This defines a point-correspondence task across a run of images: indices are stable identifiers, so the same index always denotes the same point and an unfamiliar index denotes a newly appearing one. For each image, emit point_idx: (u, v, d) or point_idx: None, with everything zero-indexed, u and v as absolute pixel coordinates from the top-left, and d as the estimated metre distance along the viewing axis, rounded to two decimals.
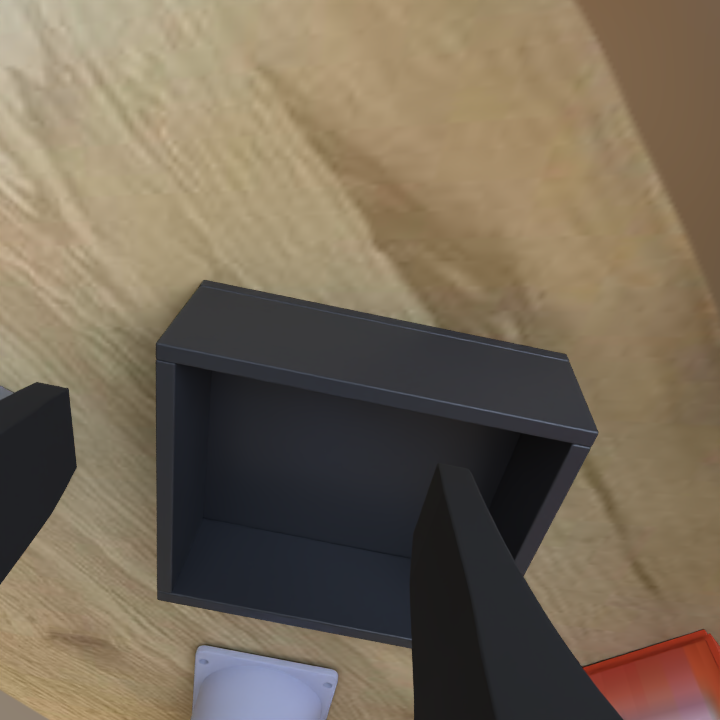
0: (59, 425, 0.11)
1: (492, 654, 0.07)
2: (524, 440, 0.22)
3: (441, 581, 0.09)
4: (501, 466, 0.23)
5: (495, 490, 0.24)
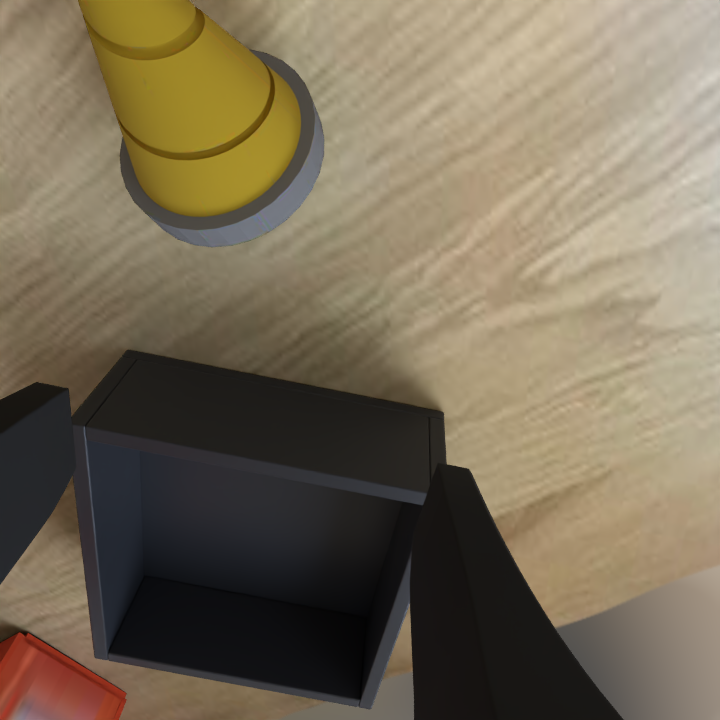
0: (59, 425, 0.11)
1: (492, 654, 0.07)
2: (310, 617, 0.28)
3: (441, 581, 0.09)
4: (273, 597, 0.28)
5: (246, 593, 0.28)
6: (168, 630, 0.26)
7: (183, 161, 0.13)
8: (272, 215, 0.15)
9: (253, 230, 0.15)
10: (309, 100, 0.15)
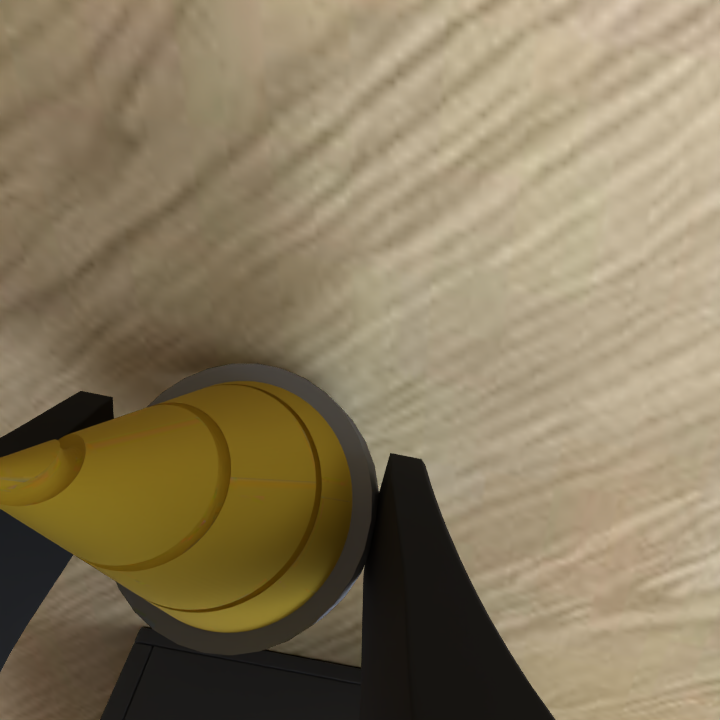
0: None
1: (418, 640, 0.07)
2: None
3: (385, 570, 0.09)
4: None
5: None
6: None
7: (190, 613, 0.09)
8: None
9: None
10: (364, 465, 0.11)
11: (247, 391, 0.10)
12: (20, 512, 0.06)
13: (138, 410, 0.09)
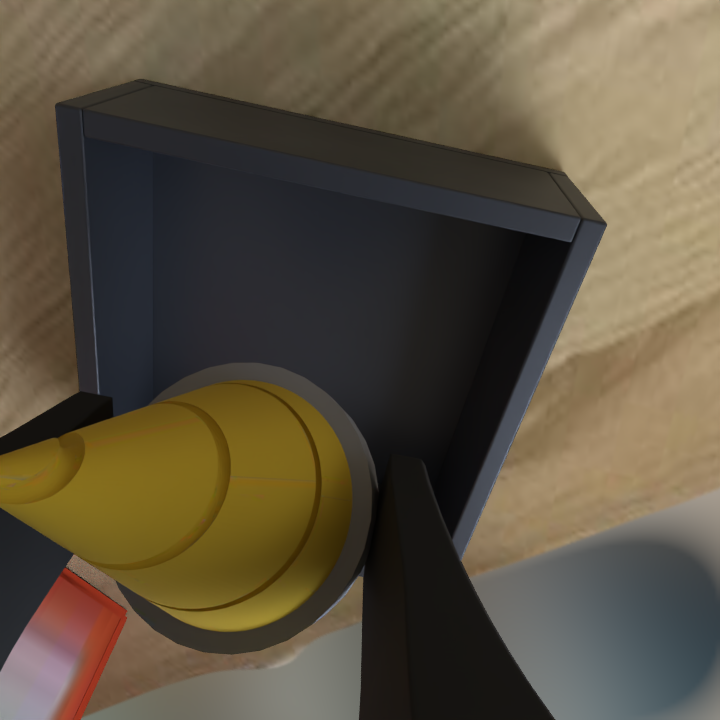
0: None
1: (418, 640, 0.07)
2: None
3: (385, 570, 0.09)
4: None
5: None
6: None
7: (190, 612, 0.09)
8: None
9: None
10: (364, 464, 0.11)
11: (247, 390, 0.10)
12: (19, 511, 0.06)
13: (138, 409, 0.08)
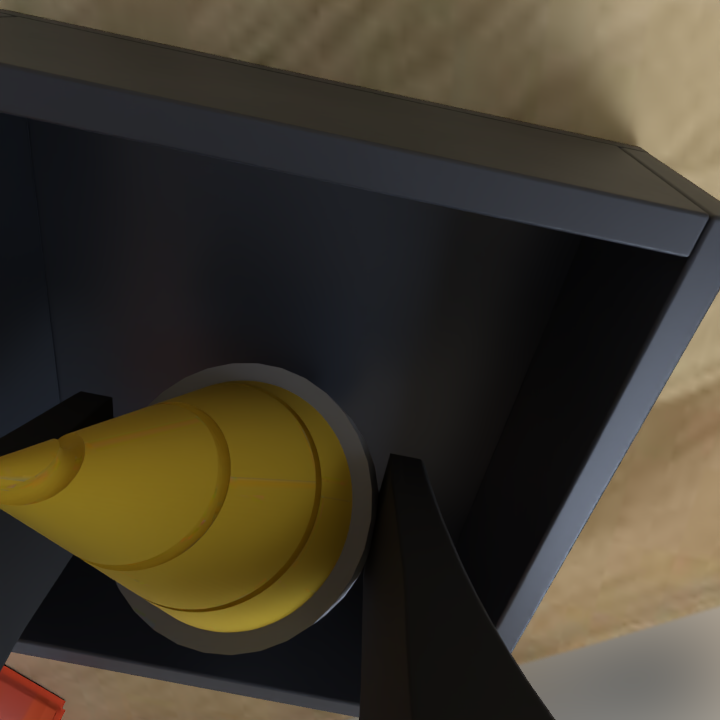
0: None
1: (418, 640, 0.07)
2: None
3: (385, 570, 0.09)
4: None
5: None
6: (105, 596, 0.15)
7: (190, 612, 0.09)
8: None
9: None
10: (364, 465, 0.11)
11: (247, 391, 0.10)
12: (19, 512, 0.06)
13: (138, 410, 0.08)
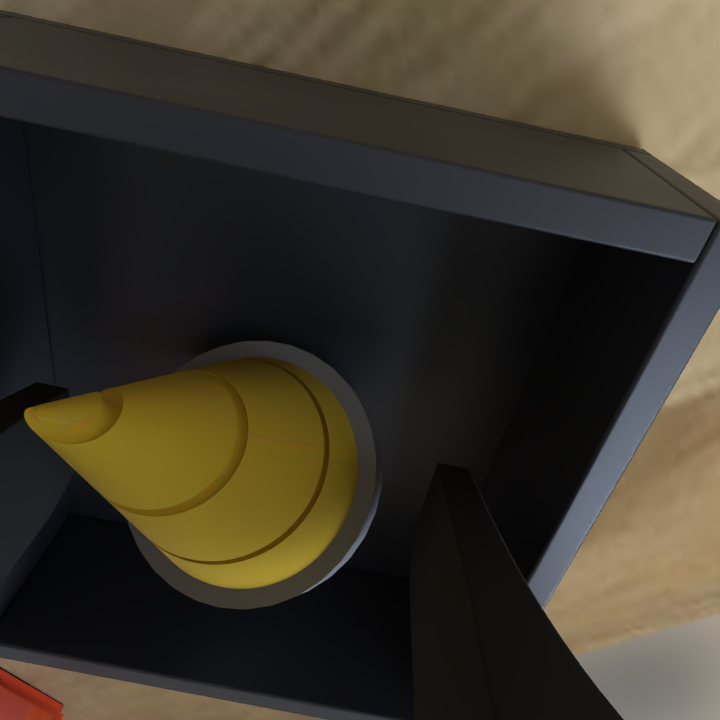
0: None
1: (492, 654, 0.07)
2: (348, 584, 0.17)
3: (441, 581, 0.09)
4: None
5: None
6: (102, 602, 0.15)
7: (209, 565, 0.10)
8: (318, 583, 0.11)
9: None
10: (368, 434, 0.12)
11: (260, 364, 0.11)
12: (69, 450, 0.06)
13: None
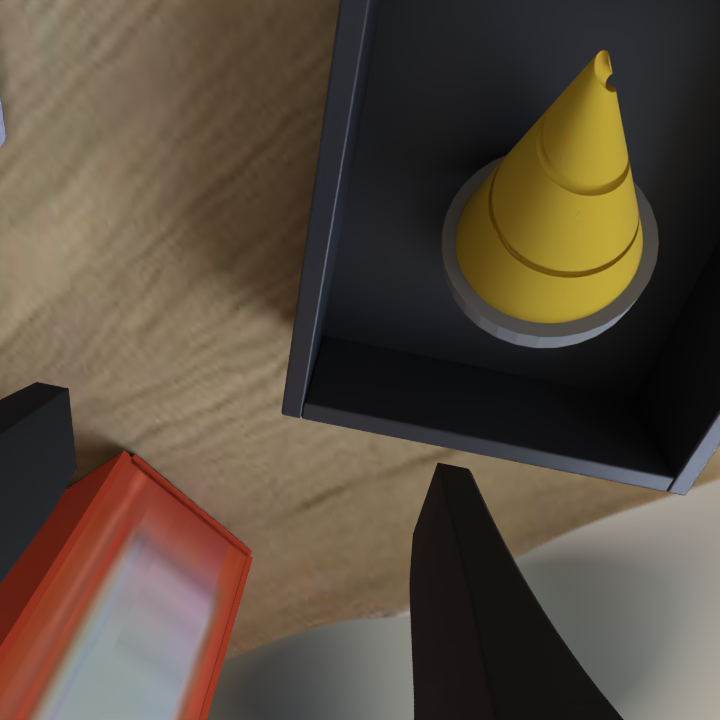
0: (59, 425, 0.11)
1: (492, 654, 0.07)
2: (559, 392, 0.20)
3: (441, 581, 0.09)
4: (503, 367, 0.20)
5: (465, 363, 0.20)
6: (378, 387, 0.18)
7: (563, 278, 0.13)
8: (611, 323, 0.15)
9: (589, 336, 0.15)
10: (649, 207, 0.15)
11: None
12: (601, 96, 0.10)
13: None
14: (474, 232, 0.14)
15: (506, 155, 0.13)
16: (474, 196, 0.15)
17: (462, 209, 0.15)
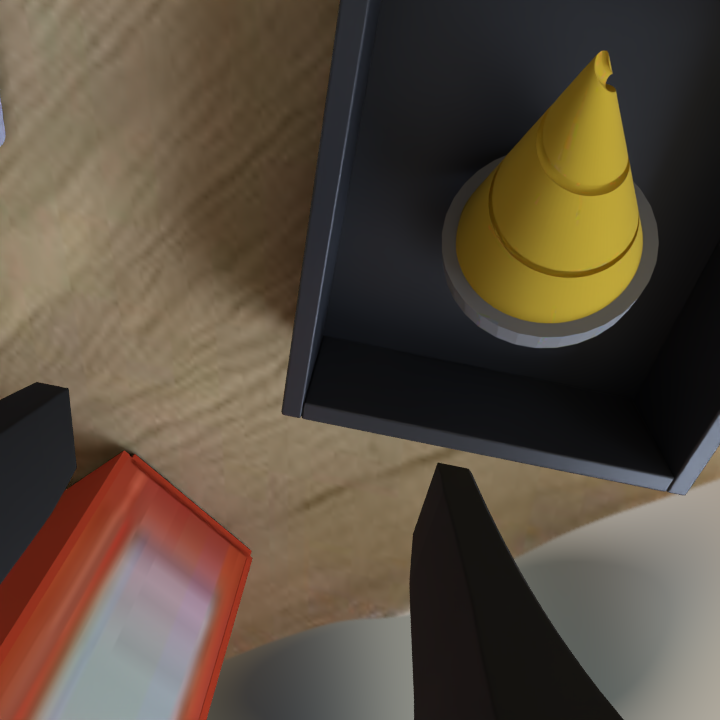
0: (59, 425, 0.11)
1: (492, 654, 0.07)
2: (559, 392, 0.20)
3: (441, 581, 0.09)
4: (503, 367, 0.20)
5: (465, 363, 0.20)
6: (378, 387, 0.18)
7: (563, 278, 0.13)
8: (611, 323, 0.15)
9: (589, 336, 0.15)
10: (649, 207, 0.15)
11: None
12: (601, 96, 0.10)
13: None
14: (474, 232, 0.14)
15: (506, 155, 0.13)
16: (474, 196, 0.15)
17: (462, 209, 0.15)
